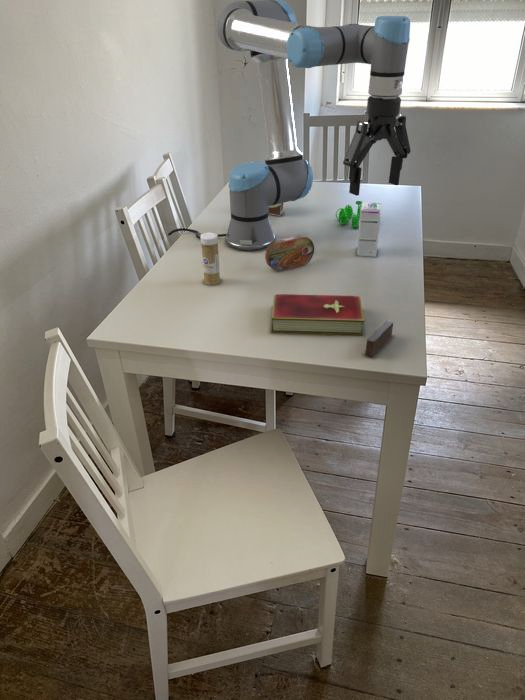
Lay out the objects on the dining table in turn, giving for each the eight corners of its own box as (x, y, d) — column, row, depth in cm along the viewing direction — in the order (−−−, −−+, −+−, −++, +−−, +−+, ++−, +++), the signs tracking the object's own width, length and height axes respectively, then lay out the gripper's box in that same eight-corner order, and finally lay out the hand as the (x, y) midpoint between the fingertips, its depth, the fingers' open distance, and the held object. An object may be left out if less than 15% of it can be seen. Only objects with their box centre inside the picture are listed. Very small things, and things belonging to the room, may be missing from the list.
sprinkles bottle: (201, 284, 144) (197, 237, 136) (208, 276, 147) (205, 230, 139) (216, 286, 142) (213, 239, 135) (223, 279, 146) (220, 233, 138)
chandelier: (376, 232, 172) (378, 211, 168) (330, 227, 176) (332, 207, 172) (382, 216, 184) (384, 197, 180) (339, 212, 188) (341, 193, 184)
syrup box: (376, 257, 156) (381, 209, 148) (356, 255, 157) (360, 208, 149) (376, 249, 161) (382, 202, 153) (357, 248, 162) (361, 201, 154)
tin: (268, 274, 148) (268, 245, 143) (263, 269, 150) (263, 241, 146) (314, 262, 154) (315, 235, 149) (308, 258, 156) (309, 231, 151)
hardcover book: (274, 307, 133) (274, 292, 130) (358, 309, 131) (360, 294, 129) (271, 332, 123) (271, 317, 120) (362, 335, 121) (364, 319, 119)
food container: (292, 211, 189) (293, 183, 183) (283, 216, 184) (284, 188, 179) (263, 205, 194) (263, 178, 189) (254, 210, 190) (253, 182, 184)
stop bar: (365, 355, 115) (366, 340, 112) (384, 334, 121) (387, 320, 119) (371, 357, 114) (373, 342, 112) (391, 337, 121) (393, 322, 118)
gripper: (355, 104, 112) (347, 202, 124) (434, 92, 124) (419, 183, 136) (332, 99, 117) (326, 194, 129) (410, 88, 129) (398, 176, 141)
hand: (374, 188), depth 132 cm, fingers open, 13 cm apart
